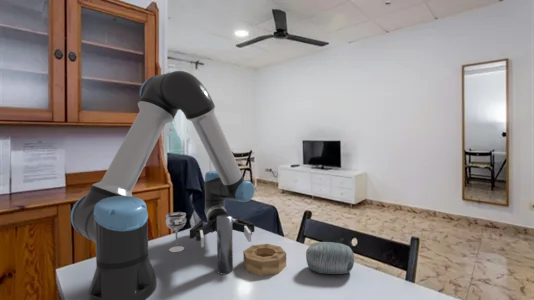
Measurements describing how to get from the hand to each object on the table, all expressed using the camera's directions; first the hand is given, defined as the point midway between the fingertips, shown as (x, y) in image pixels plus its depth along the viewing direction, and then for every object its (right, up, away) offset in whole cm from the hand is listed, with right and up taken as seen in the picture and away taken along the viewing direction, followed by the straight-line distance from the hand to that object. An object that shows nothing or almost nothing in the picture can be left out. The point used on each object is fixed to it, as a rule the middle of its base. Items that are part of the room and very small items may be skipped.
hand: (226, 239), depth 81 cm
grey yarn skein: (+30, -10, +1) cm, 31 cm away
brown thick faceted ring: (+11, -9, +5) cm, 15 cm away
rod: (-1, -9, +1) cm, 9 cm away
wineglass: (-20, -9, +17) cm, 27 cm away
